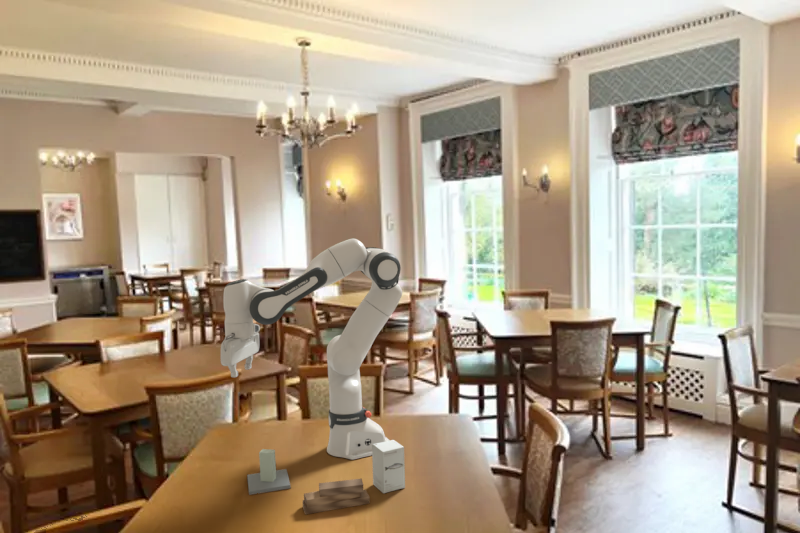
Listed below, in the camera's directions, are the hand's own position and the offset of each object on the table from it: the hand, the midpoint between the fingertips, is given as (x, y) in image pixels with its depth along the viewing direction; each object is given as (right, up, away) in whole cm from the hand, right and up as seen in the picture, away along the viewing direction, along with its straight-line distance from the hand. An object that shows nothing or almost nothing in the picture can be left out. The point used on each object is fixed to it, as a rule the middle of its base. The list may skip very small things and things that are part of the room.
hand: (241, 372), depth 188 cm
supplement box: (+48, -31, -15) cm, 59 cm away
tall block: (+11, -31, -10) cm, 34 cm away
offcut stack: (+33, -32, -25) cm, 53 cm away
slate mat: (+11, -32, -10) cm, 35 cm away
